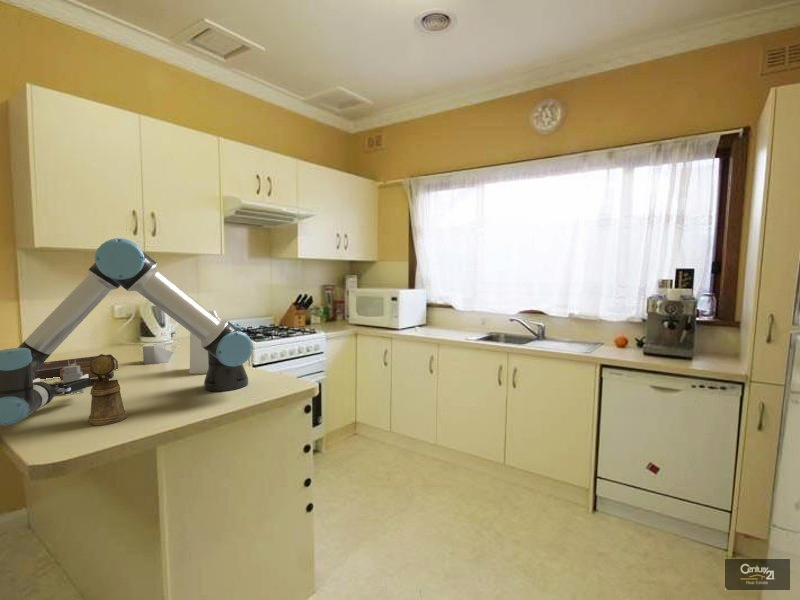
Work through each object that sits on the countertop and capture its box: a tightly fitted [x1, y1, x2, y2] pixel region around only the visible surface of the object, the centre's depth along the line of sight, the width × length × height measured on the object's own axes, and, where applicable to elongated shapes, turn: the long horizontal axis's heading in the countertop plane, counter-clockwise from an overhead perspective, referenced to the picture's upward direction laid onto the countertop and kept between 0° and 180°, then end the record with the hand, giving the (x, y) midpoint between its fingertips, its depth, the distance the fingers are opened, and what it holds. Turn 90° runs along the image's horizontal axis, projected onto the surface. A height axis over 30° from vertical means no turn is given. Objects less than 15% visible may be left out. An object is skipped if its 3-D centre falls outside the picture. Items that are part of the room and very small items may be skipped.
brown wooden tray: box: [33, 354, 119, 380], centre depth 181 cm, size 29×19×5 cm, turn 132°
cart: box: [59, 359, 117, 382], centre depth 163 cm, size 14×14×7 cm
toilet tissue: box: [142, 342, 174, 365], centre depth 200 cm, size 9×13×9 cm
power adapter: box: [62, 359, 85, 395], centre depth 148 cm, size 3×5×12 cm, turn 126°
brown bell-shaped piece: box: [88, 353, 128, 426], centre depth 121 cm, size 9×14×18 cm, turn 40°
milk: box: [189, 310, 221, 374], centre depth 180 cm, size 12×12×26 cm
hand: (63, 380), depth 141 cm, fingers open, 13 cm apart
